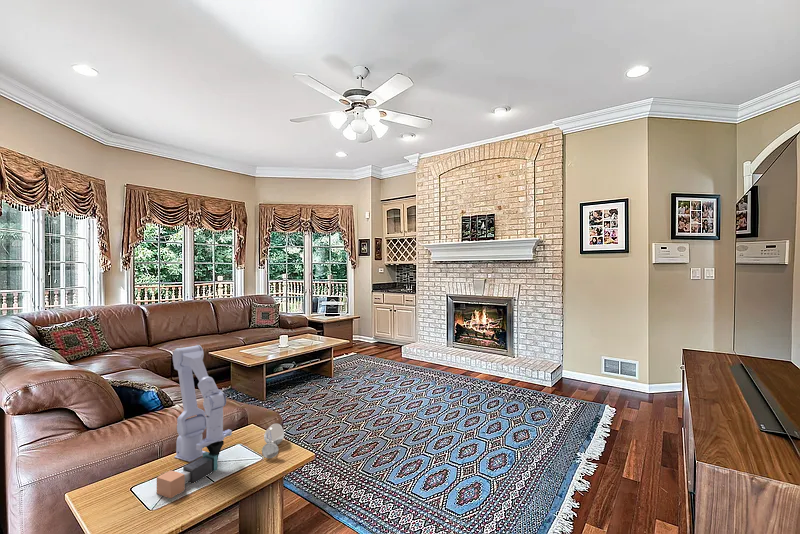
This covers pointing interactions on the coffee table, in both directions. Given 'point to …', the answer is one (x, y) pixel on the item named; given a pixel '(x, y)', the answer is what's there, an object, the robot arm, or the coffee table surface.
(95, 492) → the coffee table surface
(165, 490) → the orange brown block
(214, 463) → the grey and teal block
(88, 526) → the coffee table surface
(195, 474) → the dark grey rectangular bar
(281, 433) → the wineglass
